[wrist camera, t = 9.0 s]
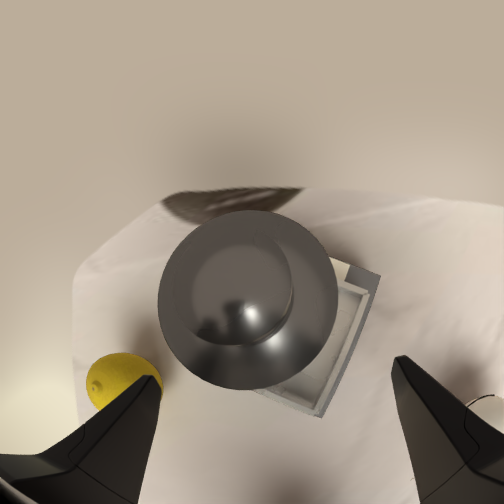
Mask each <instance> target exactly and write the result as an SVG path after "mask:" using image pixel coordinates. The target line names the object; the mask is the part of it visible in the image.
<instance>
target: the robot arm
mask: <svg viewBox="0 0 504 504" xmlns="http://www.w3.org/2000/svg"><path fill="white" fill-rule="evenodd" d="M391 378H392V383H393V388H394V394H395V399H396V405H397V410H398V415H399V418H400V422H401V425H402V429H403V432H404V436H405V440H406V443H407V447H408V451H409V455H410V459H411V463H412V467H413V472H414V476H415V480H416V485H417V490H418V495H419V500H420V502H421V503H420V504H504V434H503V433H502V432H500V431H499V430H497V429H496V428H494V427H493V426H491V425H490V424H488V423H487V422H485V421H484V420H483V419H481V418H480V417H479V416H478V415H477V414H475V413H474V412H473V411H472V410H471V409H469V408H468V407H467V406H466V405H465V404H463V403H462V402H461V401H460V400H459V399H458V398H456V397H455V396H454V395H453V394H452V393H451V392H449V391H448V390H447V389H446V388H445V387H443V386H442V385H441V384H440V383H439V382H438V381H436V380H435V379H434V378H433V377H432V376H430V375H429V374H428V373H427V372H426V371H424V370H423V369H422V368H421V367H420V366H418V365H417V364H416V363H415V362H414V361H412V360H411V359H410V358H409V357H408V356H406V355H402V356H397V357H395V358H394V362H393V367H392V371H391ZM161 395H162V389H161V387H160V385H159V383H158V382H157V380H156V378H155V377H154V376H153V375H148V374H144V375H142V376H141V377H140V378H139V379H137V380H136V381H135V382H134V383H133V384H131V385H130V386H129V387H128V388H127V389H125V390H124V391H123V392H122V393H121V394H119V395H118V396H117V397H116V398H115V399H113V400H112V401H111V402H110V403H109V404H107V405H106V406H105V407H104V408H103V409H101V410H100V411H99V412H98V413H96V414H95V415H94V416H93V417H92V418H90V419H89V420H88V421H87V422H85V424H83V425H82V426H80V427H79V428H78V429H77V430H75V431H74V432H73V433H71V434H70V435H69V436H67V437H66V438H64V439H63V440H61V441H60V442H58V443H57V444H55V445H54V446H52V447H50V448H49V449H47V450H45V451H44V452H42V453H39V454H35V455H13V454H0V477H1V478H0V504H138V499H139V495H140V491H141V486H142V482H143V478H144V474H145V469H146V465H147V461H148V457H149V453H150V449H151V445H152V442H153V438H154V434H155V430H156V426H157V421H158V415H159V408H160V401H161Z"/></svg>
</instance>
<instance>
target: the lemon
mask: <svg viewBox="0 0 504 504" xmlns="http://www.w3.org/2000/svg"><path fill="white" fill-rule="evenodd" d="M144 374H148V375H153V376H154V377H155V378H156V380H157V382H158V383H159V385H160V387H161V389H162V395H163V384H162V379H161V377H160V375H159V372H158V371H157V370H156V368H155V367H154V366H153V365H152V364H151V363H150V362H149V361H147V360H146V359H144V358H142V357H140V356H138V355H134V354H130V353H114V354H109V355H107V356H104V357H102V358H100V359H98V360H97V361H96V362H95V363H94V364H93V365H92V366H91V368H90V370H89V372H88V375H87V379H86V388H87V392H88V396H89V398H90V400H91V402H92V403H93V404H94V406H95V407H96V408H97V409H98V410H99V411H100V410H101V409H103V408H104V407H105V406H106V405H107V404H109V403H110V402H111V401H112V400H113V399H115V398H116V397H117V396H118V395H119V394H121V393H122V392H123V391H124V390H125V389H127V388H128V387H129V386H130V385H131V384H133V383H134V382H135V381H136V380H137V379H139V378H140V377H141V376H142V375H144ZM162 395H161V399H162Z"/></svg>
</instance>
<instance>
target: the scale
mask: <svg viewBox="0 0 504 504" xmlns="http://www.w3.org/2000/svg"><path fill="white" fill-rule="evenodd" d="M329 258H330V260H331V263H332V265H333V268H334V271H335V275H336V278H337V284H338V309H337V315H336V320H335V323H334V326H333V329H332V332H331V334H330V336H329V338H328V340H327V342H326V344H325V345H324V347H323V348H322V350H321V351H320V353H319V354H318V355H317V356H316V357H315V359H314V360H313V361H312V362H311V363H310V364H309V365H308V366H307V367H305V368H304V369H303V370H302V371H301V372H299V373H298V374H296V375H295V376H293V377H291V378H290V379H288V380H286V381H284V382H281V383H279V384H277V385H274V386H270V387H267V388H262V389H255V390H253V391H255V392H257V393H259V394H261V395H263V396H266V397H268V398H270V399H272V400H275V401H277V402H279V403H281V404H284V405H286V406H289V407H291V408H293V409H296V410H298V411H301V412H303V413H306V414H308V415H311V416H316V417H319V418H322V417H323V415H324V413H325V411H326V409H327V407H328V405H329V403H330V401H331V399H332V397H333V395H334V393H335V391H336V389H337V387H338V385H339V383H340V381H341V378H342V376H343V374H344V372H345V370H346V367H347V365H348V363H349V361H350V358H351V356H352V354H353V351H354V349H355V346H356V344H357V341H358V339H359V336H360V334H361V331H362V329H363V326H364V323H365V321H366V318H367V315H368V313H369V310H370V307H371V304H372V301H373V299H374V296H375V293H376V290H377V287H378V284H379V280H380V277H381V276H380V275H378V274H375V273H373V272H370V271H367V270H365V269H362V268H360V267H357V266H354V265H352V264H349V263H346V262H344V261H341V260H339V259H336V258H333V257H331V256H329Z"/></svg>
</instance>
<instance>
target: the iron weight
mask: <svg viewBox="0 0 504 504" xmlns="http://www.w3.org/2000/svg"><path fill="white" fill-rule="evenodd" d="M337 309H338V284H337V278H336V275H335V271H334V268H333V265H332V263H331V260H330V258H329V256H328V254H327V253H326V251H325V249H324V248H323V246H322V245H321V244H320V243H319V241H318V240H317V239H316V238H315V237H314V236H313V235H312V234H311V233H310V232H309V231H308V230H307V229H305V228H304V227H303V226H301V225H300V224H298V223H297V222H295V221H293V220H291V219H289V218H287V217H284V216H282V215H279V214H276V213H272V212H268V211H259V210H244V211H236V212H231V213H227V214H224V215H221V216H218V217H216V218H213V219H211V220H209V221H207V222H205V223H204V224H202V225H201V226H199V227H198V228H196V229H195V230H194V231H192V232H191V233H190V234H189V235H188V236H187V237H186V238H185V239H184V240H183V241H182V242H181V243H180V244H179V245H178V247H177V248H176V249H175V251H174V252H173V254H172V255H171V257H170V259H169V261H168V262H167V265H166V267H165V269H164V272H163V275H162V278H161V281H160V286H159V292H158V315H159V321H160V325H161V329H162V332H163V335H164V337H165V340H166V342H167V344H168V346H169V347H170V349H171V351H172V352H173V353H174V355H175V356H176V358H177V359H178V360H179V361H180V362H181V363H182V364H183V365H184V366H185V367H186V368H187V369H188V370H189V371H191V372H192V373H193V374H195V375H196V376H198V377H199V378H201V379H203V380H204V381H207V382H209V383H211V384H213V385H216V386H220V387H223V388H228V389H235V390H255V389H262V388H267V387H270V386H274V385H277V384H279V383H281V382H284V381H286V380H288V379H290V378H291V377H293V376H295V375H296V374H298V373H299V372H301V371H302V370H303V369H304V368H305V367H307V366H308V365H309V364H310V363H311V362H312V361H313V360H314V359H315V357H316V356H317V355H318V354H319V353H320V351H321V350H322V348H323V347H324V345H325V344H326V342H327V340H328V338H329V336H330V334H331V332H332V329H333V326H334V323H335V320H336V315H337Z"/></svg>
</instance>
